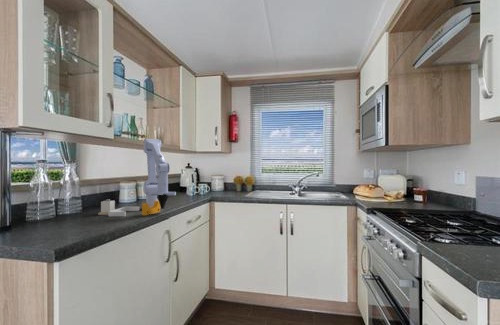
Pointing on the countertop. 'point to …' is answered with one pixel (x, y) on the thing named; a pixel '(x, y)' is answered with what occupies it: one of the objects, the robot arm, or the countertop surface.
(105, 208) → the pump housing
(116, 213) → the parts bay
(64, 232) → the countertop surface
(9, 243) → the countertop surface
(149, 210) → the pipe clamp
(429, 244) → the countertop surface
